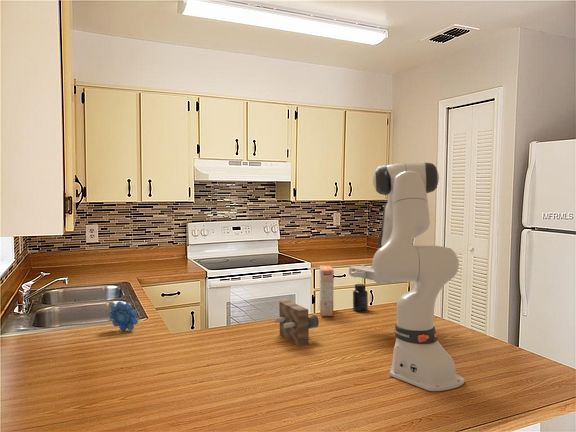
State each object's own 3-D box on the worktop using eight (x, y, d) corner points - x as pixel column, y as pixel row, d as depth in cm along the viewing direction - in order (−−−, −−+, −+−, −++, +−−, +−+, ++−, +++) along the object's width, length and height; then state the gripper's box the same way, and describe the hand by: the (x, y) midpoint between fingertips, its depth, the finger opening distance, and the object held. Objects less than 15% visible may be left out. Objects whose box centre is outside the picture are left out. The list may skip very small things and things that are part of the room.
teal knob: (308, 323, 182) (308, 311, 182) (278, 328, 176) (277, 315, 176) (302, 320, 186) (302, 308, 186) (272, 324, 180) (272, 313, 180)
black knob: (318, 328, 175) (318, 316, 175) (287, 333, 169) (287, 321, 169) (312, 325, 179) (312, 313, 179) (282, 330, 173) (281, 318, 173)
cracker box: (334, 316, 208) (334, 270, 207) (320, 316, 208) (320, 270, 207) (332, 308, 222) (331, 264, 221) (319, 308, 222) (319, 265, 221)
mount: (308, 344, 171) (308, 309, 170) (298, 346, 169) (298, 310, 169) (288, 332, 185) (288, 300, 185) (279, 334, 184) (279, 301, 183)
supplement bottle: (367, 308, 222) (367, 283, 221) (368, 312, 215) (368, 286, 215) (352, 308, 223) (352, 283, 222) (353, 311, 216) (353, 286, 215)
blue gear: (105, 334, 186) (104, 304, 186) (111, 329, 193) (110, 300, 192) (134, 333, 186) (133, 303, 186) (140, 328, 193) (139, 299, 192)
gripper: (365, 261, 198) (338, 263, 192) (397, 267, 180) (368, 269, 174) (365, 276, 199) (338, 279, 192) (397, 283, 180) (368, 286, 174)
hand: (352, 274), depth 183 cm, fingers closed
